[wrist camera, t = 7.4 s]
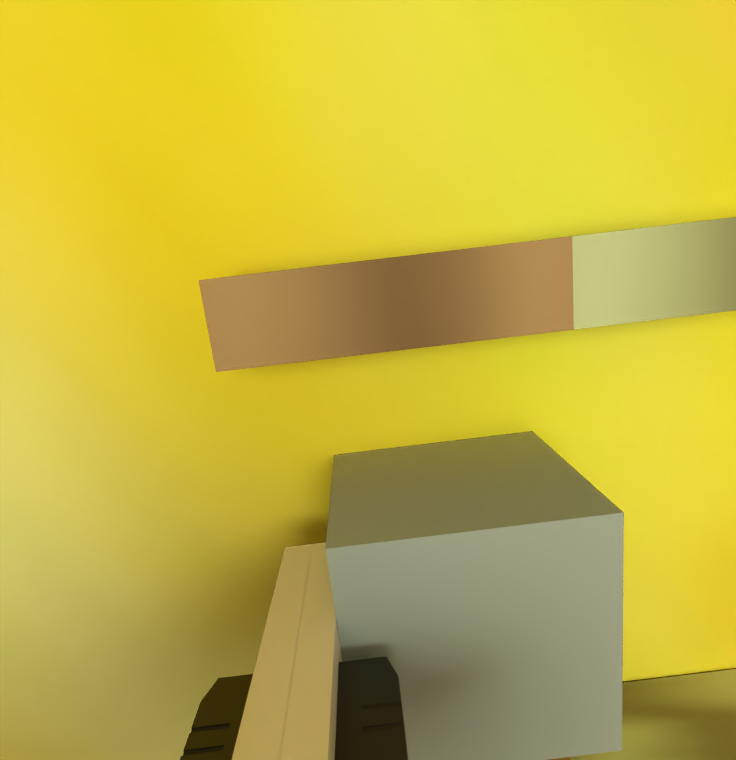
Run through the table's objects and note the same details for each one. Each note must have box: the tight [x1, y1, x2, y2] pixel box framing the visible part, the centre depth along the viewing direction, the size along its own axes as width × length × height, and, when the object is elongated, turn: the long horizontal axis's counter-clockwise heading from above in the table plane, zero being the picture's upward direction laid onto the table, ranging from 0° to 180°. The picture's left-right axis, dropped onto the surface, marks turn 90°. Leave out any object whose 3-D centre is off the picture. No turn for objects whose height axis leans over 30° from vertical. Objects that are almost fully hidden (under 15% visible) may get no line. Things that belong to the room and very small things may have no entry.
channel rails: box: [199, 217, 736, 760], centre depth 14 cm, size 16×17×3 cm
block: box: [325, 431, 624, 760], centre depth 13 cm, size 6×6×5 cm
